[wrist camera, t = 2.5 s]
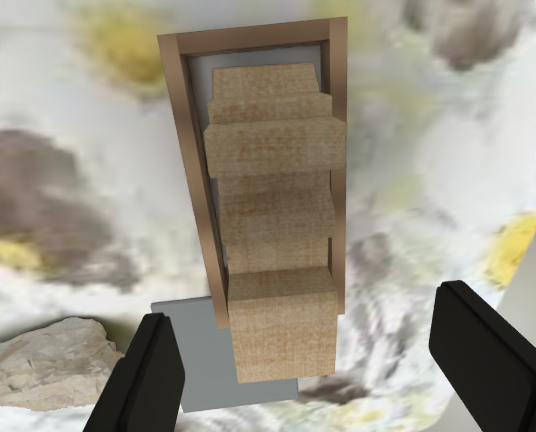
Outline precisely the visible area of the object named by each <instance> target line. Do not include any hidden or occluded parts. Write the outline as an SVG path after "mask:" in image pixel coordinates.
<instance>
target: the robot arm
mask: <svg viewBox="0 0 536 432" xmlns="http://www.w3.org/2000/svg"><path fill="white" fill-rule="evenodd" d="M429 350H430V353H431V355H432V357H433V358H434V360H435V361H436V363H437V364H438V366H439V367H440V369H441V370H442V372H443V373H444V375H445V376H446V378H447V379H448V381H449V382H450V384H451V385H452V387H453V388H454V390H455V391H456V393H457V394H458V396H459V397H460V399H461V400H462V401H463V403H464V404H465V406H466V408H467V409H468V411H469V412H470V413H471V415H472V416H473V418H474V420H475V421H476V422H477V424H478V425H479V427H480V428H481V430H482V431H483V432H536V348H535V347H534V346H533V345H532V344H531V343H530V342H529V341H528V340H527V339H526V338H524V337H523V336H522V335H521V334H520V333H519V332H518V331H517V330H516V329H515V328H514V327H512V326H511V325H510V324H509V323H508V322H507V321H506V320H505V319H504V318H503V317H502V316H501V315H499V314H498V313H497V312H496V311H495V310H494V309H493V308H492V307H491V306H490V305H489V304H488V303H486V302H485V301H484V300H483V299H482V298H481V297H480V296H479V295H478V294H477V293H476V292H474V291H473V290H472V289H471V288H470V287H469V286H468V285H467V284H466V283H465V282H463V281H462V280H456V281H446V282H442V284H441V286H440V287H438V288H437V290H436V297H435V304H434V311H433V317H432V324H431V331H430V338H429ZM184 384H185V370H184V366H183V362H182V359H181V355H180V352H179V348H178V344H177V341H176V337H175V334H174V330H173V326H172V323H171V319H170V317H169V316H165V315H164V313H163V312H159V313H150V314H145V315H144V317H143V319H142V321H141V323H140V325H139V327H138V330H137V332H136V334H135V336H134V338H133V340H132V342H131V344H130V347H129V349H128V351H127V353H126V355H125V357H121V358H120V359H119V360H118V361H117V363H116V365H115V367H114V369H113V371H112V373H111V375H110V377H109V379H108V381H107V383H106V385H105V387H104V389H103V391H102V393H101V395H100V397H99V399H98V401H97V403H96V405H95V407H94V409H93V411H92V413H91V415H90V417H89V419H88V421H87V424H86V426H85V428H84V430H83V432H174V428H175V424H176V419H177V415H178V411H179V406H180V402H181V397H182V393H183V389H184Z"/></svg>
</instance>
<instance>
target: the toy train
mask: <svg viewBox="0 0 536 432" xmlns="http://www.w3.org/2000/svg"><path fill="white" fill-rule="evenodd" d="M212 95H213V99H212V100H211V101H210V102H208V103H207V107H208V115H209V126H208V127H207V128H206V130H205V131H204V133H203V134H204V142H205V149H206V157H207V164H208V172H209V175H210V178H217V182H218V191H219V221H220V234H221V240H222V244H223V246H226V254H227V261H228V269H229V287H228V314H229V321H230V328H231V335H232V342H233V349H234V357H235V364H236V371H237V378H238V383H249V382H259V381H269V380H280V379H290V378H300V377H311V376H321V375H332V374H335V357H336V337H337V317H338V295H337V290H336V288H335V285H334V282H333V280H332V277H331V274H330V272H329V269H328V238H332V237H333V235H334V234H335V228H336V223H335V210H334V206H333V201H332V197H331V192H330V188H329V182H330V170H332V169H342V168H343V166H344V164H345V159H346V129H347V123H345V122H343V121H341V120H339V119H337V118H335V117H333V116H332V96H331V95H328V94H324V93H321V92H320V90H319V86H318V81H317V77H316V72H315V68H314V64H313V63H312V62H311V63H294V64H277V65H260V66H244V67H227V68H213V70H212Z"/></svg>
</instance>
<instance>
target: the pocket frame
mask: <svg viewBox="0 0 536 432" xmlns="http://www.w3.org/2000/svg"><path fill="white" fill-rule="evenodd" d="M157 38H158V43H159V48H160V53H161V57H162V62H163V67H164V72H165V77H166V81H167V86H168V91H169V96H170V101H171V105H172V110H173V115H174V120H175V125H176V129H177V134H178V139H179V144H180V148H181V153H182V158H183V163H184V168H185V172H186V177H187V182H188V187H189V192H190V196H191V201H192V206H193V211H194V216H195V220H196V225H197V230H198V235H199V239H200V244H201V249H202V254H203V259H204V263H205V268H206V273H207V278H208V283H209V287H210V292H211V297H212V302H213V307H214V311H215V316H216V321H217V326H218V329H223V328H230V321H229V314H228V285H227V279H226V274H225V268H224V263H223V257H222V251H221V246H220V240H219V235H218V229H217V224H216V218H215V212H214V207H213V201H212V196H211V190H210V184H209V179H208V173H207V168H206V162H205V156H204V151H203V145H202V140H201V134H200V129H199V123H198V117H197V112H196V106H195V101H194V95H193V89H192V84H191V78H190V73H189V67H188V62H187V57H196V56H206V55H216V54H226V53H236V52H246V51H255V50H265V49H275V48H285V47H295V46H305V45H315V44H320V50H321V93H324V94H328V95H331V96H332V116H333V117H335V118H337V119H339V120H341V121H343V122H345V123H346V118H347V17H339V18H329V19H318V20H308V21H298V22H288V23H278V24H268V25H258V26H247V27H237V28H227V29H217V30H207V31H197V32H187V33H176V34H166V35H157ZM329 188H330V192H331V197H332V201H333V206H334V210H335V223H336V228H335V234H334V235H333V237H332V238H328V269H329V272H330V274H331V277H332V280H333V282H334V285H335V288H336V290H337V295H338V315H340V314H345V221H346V159H345V164H344V166H343V168H342V169H332V170H330V182H329Z"/></svg>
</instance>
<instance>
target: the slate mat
mask: <svg viewBox="0 0 536 432" xmlns="http://www.w3.org/2000/svg"><path fill="white" fill-rule="evenodd" d="M150 307H151V310H152V313H159V312H163V313H164V315H165V316H169V317H170V319H171V323H172V326H173V330H174V334H175V337H176V341H177V344H178V348H179V352H180V355H181V359H182V362H183V366H184V370H185V384H184V389H183V393H182V397H181V406H182V409H183V412H184V413H187V412H195V411H203V410H211V409H219V408H227V407H235V406H243V405H251V404H259V403H267V402H275V401H283V400H291V399H298V391H297V379H296V378H290V379H280V380H269V381H259V382H249V383H238V378H237V371H236V364H235V357H234V349H233V342H232V335H231V328H223V329H218V326H217V321H216V316H215V311H214V307H213V302H212V297H203V298H194V299H186V300H177V301H169V302H160V303H152V304H151V306H150Z"/></svg>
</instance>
